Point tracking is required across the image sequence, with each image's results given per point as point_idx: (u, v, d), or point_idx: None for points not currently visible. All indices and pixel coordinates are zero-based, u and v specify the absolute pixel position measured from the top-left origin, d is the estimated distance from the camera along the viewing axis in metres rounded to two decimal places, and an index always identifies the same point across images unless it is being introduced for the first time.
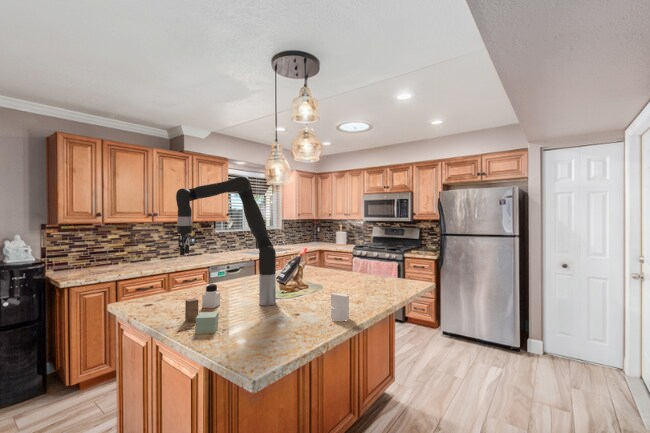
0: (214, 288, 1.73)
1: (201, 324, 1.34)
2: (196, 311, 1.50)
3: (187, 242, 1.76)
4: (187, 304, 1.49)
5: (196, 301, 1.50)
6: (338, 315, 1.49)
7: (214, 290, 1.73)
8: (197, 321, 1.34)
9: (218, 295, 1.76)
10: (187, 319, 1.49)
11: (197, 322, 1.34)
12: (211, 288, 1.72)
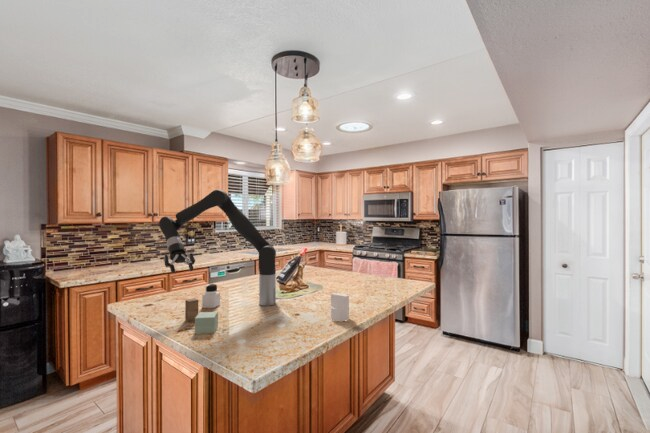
0: (214, 288, 1.73)
1: (200, 324, 1.34)
2: (196, 311, 1.50)
3: (186, 260, 1.64)
4: (187, 304, 1.49)
5: (196, 301, 1.50)
6: (338, 315, 1.49)
7: (214, 290, 1.73)
8: (196, 321, 1.34)
9: (218, 295, 1.76)
10: (187, 319, 1.49)
11: (196, 322, 1.34)
12: (211, 288, 1.72)
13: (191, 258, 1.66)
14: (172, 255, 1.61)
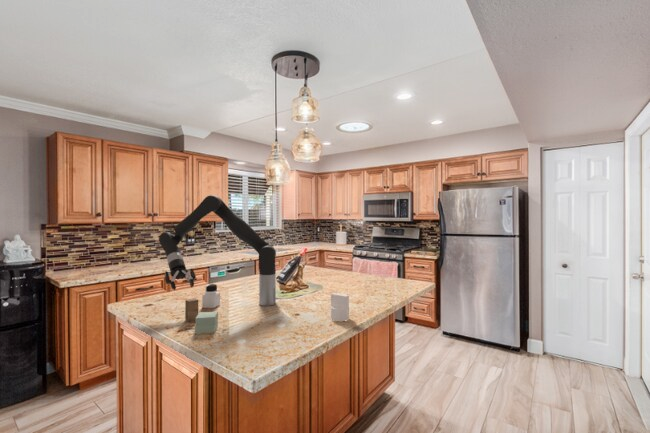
0: (214, 288, 1.73)
1: (201, 324, 1.34)
2: (196, 311, 1.50)
3: None
4: (187, 304, 1.49)
5: (196, 301, 1.50)
6: (338, 315, 1.49)
7: (214, 290, 1.73)
8: (197, 321, 1.34)
9: (218, 295, 1.76)
10: (187, 319, 1.49)
11: (197, 322, 1.34)
12: (211, 288, 1.72)
13: (192, 274, 1.66)
14: (172, 271, 1.61)
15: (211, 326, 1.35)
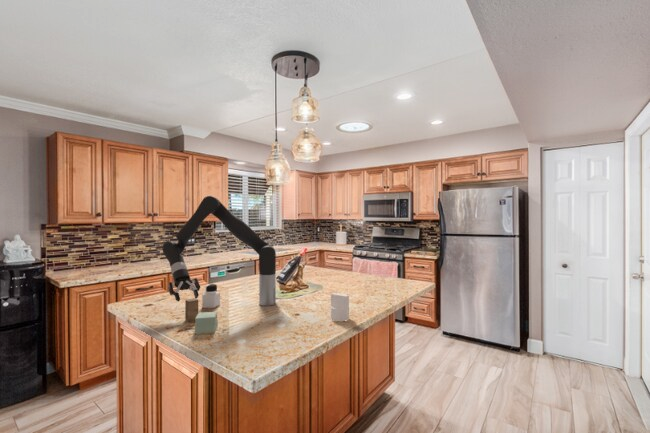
0: (214, 288, 1.73)
1: (201, 324, 1.34)
2: (196, 311, 1.50)
3: (191, 286, 1.59)
4: (187, 304, 1.49)
5: (196, 301, 1.50)
6: (338, 315, 1.49)
7: (214, 290, 1.73)
8: (197, 321, 1.34)
9: (218, 295, 1.76)
10: (187, 319, 1.49)
11: (197, 322, 1.34)
12: (211, 288, 1.72)
13: (196, 284, 1.61)
14: (177, 282, 1.56)
15: (211, 326, 1.35)
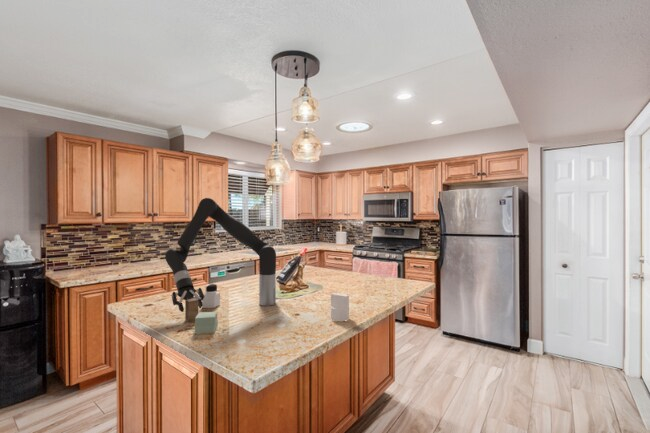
0: (214, 288, 1.73)
1: (200, 324, 1.34)
2: (196, 311, 1.50)
3: (195, 296, 1.55)
4: (187, 304, 1.49)
5: (196, 301, 1.50)
6: (338, 315, 1.49)
7: (214, 290, 1.73)
8: (196, 321, 1.34)
9: (218, 295, 1.76)
10: (187, 319, 1.49)
11: (196, 322, 1.34)
12: (211, 288, 1.72)
13: (200, 293, 1.58)
14: (180, 292, 1.53)
15: (211, 326, 1.35)
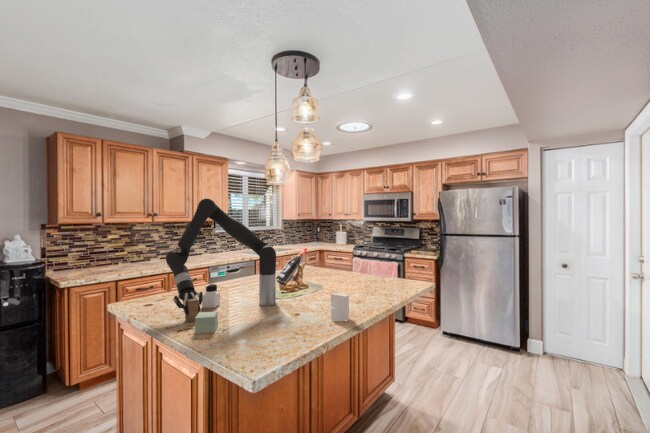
0: (214, 288, 1.73)
1: (200, 324, 1.34)
2: (196, 311, 1.50)
3: None
4: (187, 304, 1.49)
5: (196, 301, 1.50)
6: (338, 315, 1.49)
7: (214, 290, 1.73)
8: (196, 321, 1.34)
9: (218, 295, 1.76)
10: (187, 319, 1.49)
11: (196, 322, 1.34)
12: (211, 288, 1.72)
13: (199, 297, 1.56)
14: (181, 294, 1.52)
15: (211, 326, 1.35)
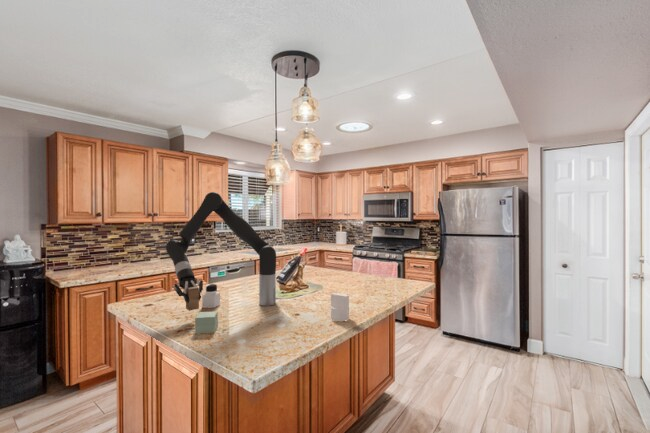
0: (214, 288, 1.73)
1: (200, 324, 1.34)
2: (196, 299, 1.50)
3: None
4: (187, 292, 1.49)
5: (196, 289, 1.50)
6: (338, 315, 1.49)
7: (214, 290, 1.73)
8: (196, 321, 1.34)
9: (218, 295, 1.76)
10: (188, 307, 1.49)
11: (196, 322, 1.34)
12: (211, 288, 1.72)
13: (200, 286, 1.56)
14: (181, 282, 1.52)
15: (211, 326, 1.35)
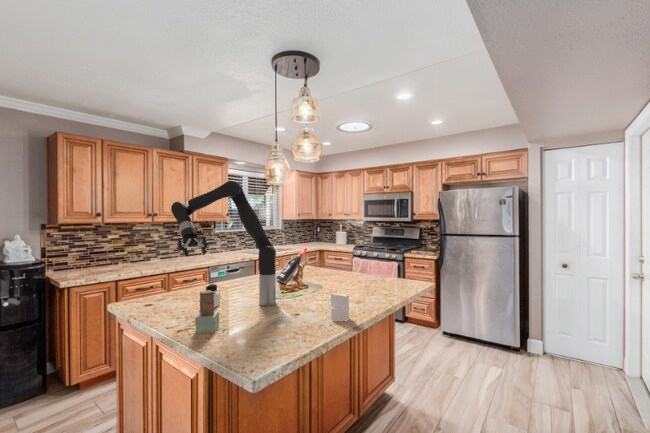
0: (214, 288, 1.73)
1: (200, 323, 1.35)
2: (211, 304, 1.38)
3: (199, 244, 1.64)
4: (202, 296, 1.37)
5: (211, 293, 1.38)
6: (338, 315, 1.49)
7: (214, 290, 1.73)
8: (196, 320, 1.35)
9: (218, 295, 1.76)
10: (202, 313, 1.37)
11: (196, 321, 1.35)
12: (211, 288, 1.72)
13: (203, 242, 1.67)
14: (185, 239, 1.62)
15: (212, 326, 1.35)
